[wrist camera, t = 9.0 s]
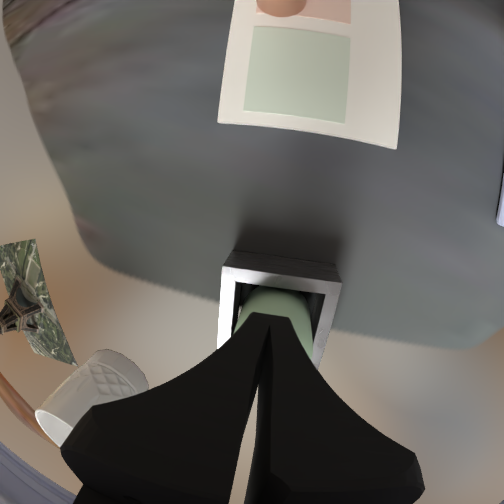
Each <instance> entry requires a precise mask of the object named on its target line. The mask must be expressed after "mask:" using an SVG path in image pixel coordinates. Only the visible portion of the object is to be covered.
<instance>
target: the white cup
mask: <svg viewBox="0 0 504 504" xmlns="http://www.w3.org/2000/svg"><path fill="white" fill-rule="evenodd" d="M148 388H149V385H148V382H147V380H146V378H145V375H144V373H143V372H142V371H141V370H140V369H139V368H138V367H137V365H136V364H135V363H134V362H132V361H131V360H130V359H128V358H127V357H125V356H124V355H122V354H121V353H118V352H115V351H112V350H109V349H107V350H98V351H97V352H96V353H95V354H94V355H93V356H92V357H91V358H90V359H89V360H88V361H87V362H86V363H84V365H82V366H80V367H79V368H78V369H77V370H76V371H74V372H73V373H72V374H71V375H70V376H69V377H68V378H67V379H66V380H65V381H64V382H63V383H62V384H61V385H60V386H59V387H58V388H57V389H56V390H55V391H54V392H53V393H52V394H51V395H50V396H49V397H48V398H47V399H46V400H45V402H44V403H43V404H42V405H40V407H39V408H38V409H37V410H36V411H35V417H36V419H37V421H38V423H39V425H40V426H41V428H42V429H43V430H44V432H45V433H46V434H47V435H48V436H49V437H50V438H51V439H52V440H53V441H54V442H55V443H56V444H57V445H58V446H59V447H61V445H62V444H63V442H64V441H65V440H66V438H67V437H68V435H69V434H70V432H71V431H72V430H73V428H74V427H75V425H76V424H77V423H78V421H79V420H80V419H81V417H82V416H83V415H84V414H85V413H86V412H87V411H88V410H89V409H90V408H91V407H92V406H93V405H98V404H103V403H107V402H111V401H115V400H119V399H123V398H127V397H130V396H134V395H137V394H139V393H142V392H145V391H147V390H148Z"/></svg>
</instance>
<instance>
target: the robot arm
mask: <svg viewBox="0 0 504 504" xmlns="http://www.w3.org/2000/svg"><path fill="white" fill-rule="evenodd" d="M497 223H498V224H499V225H501V226H503V227H504V175H503V183H502V190H501V196H500V202H499V208H498V213H497ZM257 387H258V404H257V423H256V438H255V447H254V452H253V459H252V464H251V469H250V475H249V480H248V486H247V491H246V496H245V501H244V504H413V503H414V502H415V501H416V500H418V499H419V498H420V496H421V495H422V493H423V492H424V490H425V486H424V482H423V478H422V473H421V469H420V465H419V463H418V460H417V457H416V455H415V453H414V452H412V451H410V450H409V449H407V448H405V447H403V446H402V445H400V444H398V443H397V442H395V441H393V440H392V439H390V438H388V437H387V436H385V435H384V434H382V433H381V432H379V431H378V430H377V429H375V428H374V427H372V426H371V425H370V424H368V423H367V422H366V421H365V420H364V419H362V418H361V417H360V416H359V415H358V414H356V413H355V412H354V411H353V410H352V409H351V408H350V407H349V406H348V405H347V404H346V403H345V402H344V401H343V400H342V399H341V398H340V397H339V396H338V395H337V394H336V393H335V392H334V391H333V390H332V388H331V387H330V386H329V385H328V384H327V383H326V381H325V380H324V379H323V377H322V376H321V374H320V373H319V371H318V370H317V368H316V367H315V366H314V364H313V363H312V361H311V359H310V358H309V356H308V354H307V353H306V351H305V349H304V347H303V346H302V344H301V342H300V340H299V338H298V336H297V334H296V331H295V329H294V327H293V324H292V322H291V320H290V318H289V317H284V316H277V315H271V314H264V313H258V312H252V313H250V314H249V316H248V317H247V319H246V320H245V321H244V323H243V324H242V325H241V326H240V327H239V329H238V330H237V331H236V332H235V333H234V334H233V335H232V336H231V337H230V338H229V339H228V340H227V341H226V342H225V343H224V344H223V345H221V346H220V347H219V348H218V349H217V350H216V351H215V352H213V353H212V354H211V355H210V356H208V357H207V358H206V359H204V360H203V361H202V362H200V363H199V364H197V365H196V366H194V367H193V368H191V369H190V370H188V371H186V372H185V373H183V374H181V375H179V376H178V377H176V378H174V379H172V380H170V381H168V382H166V383H164V384H162V385H160V386H157V387H155V388H152V389H150V390H147V391H145V392H142V393H139V394H137V395H134V396H130V397H127V398H123V399H119V400H115V401H111V402H107V403H103V404H98V405H93V406H92V407H91V408H90V409H89V410H88V411H87V412H86V413H85V414H84V415H83V416H82V417H81V419H80V420H79V421H78V423H77V424H76V425H75V427H74V428H73V430H72V431H71V432H70V434H69V435H68V437H67V438H66V440H65V441H64V442H63V444H62V445H61V447H60V450H61V455H62V457H63V459H64V460H65V462H66V463H67V465H68V466H69V467H70V469H71V470H72V471H73V472H74V473H75V475H76V476H77V477H78V478H79V480H80V481H81V482H82V483H83V486H82V488H81V489H80V491H79V493H78V495H77V496H76V495H74V494H73V493H71V492H69V491H68V490H66V489H64V488H63V487H61V486H59V485H58V484H56V483H55V482H53V481H52V480H50V479H48V478H47V477H45V476H44V475H43V474H41V473H40V472H38V471H37V470H35V469H34V468H33V467H31V466H30V465H29V464H27V463H26V462H25V461H23V460H22V459H21V458H19V457H18V456H17V455H16V454H14V453H13V452H12V451H11V450H10V449H8V448H7V447H6V446H5V445H4V444H3V443H1V442H0V504H228V503H229V499H230V495H231V490H232V485H233V480H234V475H235V471H236V466H237V461H238V457H239V452H240V447H241V442H242V438H243V434H244V430H245V428H246V424H247V421H248V418H249V414H250V411H251V407H252V404H253V401H254V398H255V394H256V390H257ZM500 504H504V500H503V501H502V502H501V503H500Z"/></svg>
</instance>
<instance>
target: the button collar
mask: <svg viewBox="0 0 504 504" xmlns="http://www.w3.org/2000/svg"><path fill="white" fill-rule="evenodd" d="M241 282H243V283H250V284H257V285H263V286H270V287H277V288H284V289H291V290H299V291H306V292H314V293H317V295H316V299H315V304H314V308H313V312H312V317H311V330H312V340H313V355H312V358H311V361H312V363H313V364H314V366H315V367H316V368H317V370H318V367H319V364H320V361H321V358H322V355H323V352H324V348H325V345H326V342H327V338H328V335H329V332H330V328H331V325H332V321H333V317H334V314H335V310H336V306H337V302H338V299H339V295H340V291H341V287H342V281H341V278H340V276H339V273H338V271H337V268H336V266H335V264H328V263H321V262H314V261H307V260H300V259H293V258H286V257H279V256H271V255H264V254H257V253H250V252H243V251H236V250H232V252H231V253H230V255H229V257H228V258H227V260H226V261H225V263H224V265H223V266H222V280H221V295H220V311H219V327H218V344H217V349H218V348H219V347H220V346H221V345H223V344H224V343H225V342H226V341H227V340H228V339H229V338H230V337H231V336H232V335H233V334H234V331H235V328H236V325H237V322H238V312H239V302H240V292H241Z"/></svg>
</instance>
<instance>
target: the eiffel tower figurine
mask: <svg viewBox="0 0 504 504" xmlns="http://www.w3.org/2000/svg"><path fill="white" fill-rule="evenodd" d="M0 270H1V274H2V276H3V279H4V283H5V286H6V290H7V293H8V295H9V298H8V299H7V300H5V306H4V307H3V309H2V311H1V312H0V334H2V335H3V333H5V332H9V331H13V330H16V331H17V332H19V331H21V330H23V332H24V334H25V336H26V338H27V340H28V342H29V344H30V346H31V348H32V349H33V351H34V353H37V354H39V355H42V356H46V357H49V358H52V359H55V360H58V361H61V362H64V363H67V364H71V365H75V366H78V365H77V363H76V361H75V359H74V357H73V354H72V352H71V350H70V347H69V345H68V342H67V340H66V337H65V335H64V333H63V330H62V328H61V326H60V323H59V321H58V318H57V316H56V313H55V310H54V308H53V305H52V302H51V299H50V296H49V292H48V289H47V286H46V283H45V279H44V275H43V271H42V268H41V263H40V258H39V253H38V248H37V244H36V239H31V240H25V241H20V242H15V243H10V244H6V245H1V246H0Z"/></svg>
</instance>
